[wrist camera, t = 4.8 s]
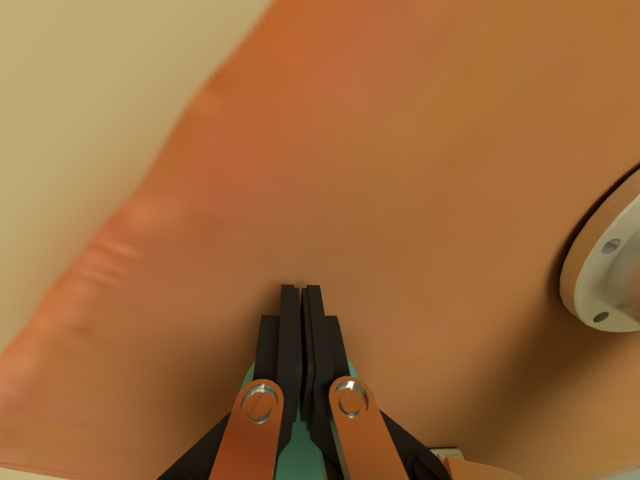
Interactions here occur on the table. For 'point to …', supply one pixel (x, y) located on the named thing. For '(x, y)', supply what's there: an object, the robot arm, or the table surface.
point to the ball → (298, 446)
